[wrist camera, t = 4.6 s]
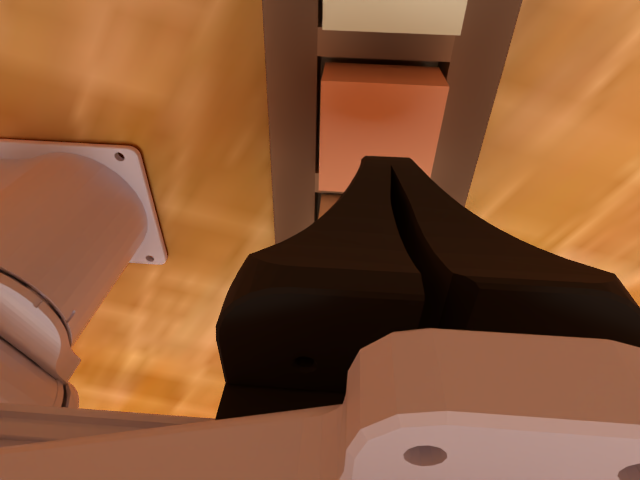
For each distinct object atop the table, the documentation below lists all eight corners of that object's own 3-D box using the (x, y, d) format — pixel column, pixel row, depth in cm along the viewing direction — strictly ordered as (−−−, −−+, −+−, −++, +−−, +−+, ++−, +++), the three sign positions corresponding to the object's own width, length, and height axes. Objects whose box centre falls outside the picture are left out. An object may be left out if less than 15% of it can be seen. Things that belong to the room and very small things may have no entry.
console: (285, 255, 26) (277, 289, 24) (254, -577, 10) (222, -730, 8) (430, 264, 25) (438, 300, 23) (640, -586, 10) (732, -751, 7)
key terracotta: (322, 163, 19) (318, 190, 17) (325, 62, 16) (321, 80, 14) (419, 168, 19) (426, 196, 17) (438, 66, 16) (449, 86, 14)
